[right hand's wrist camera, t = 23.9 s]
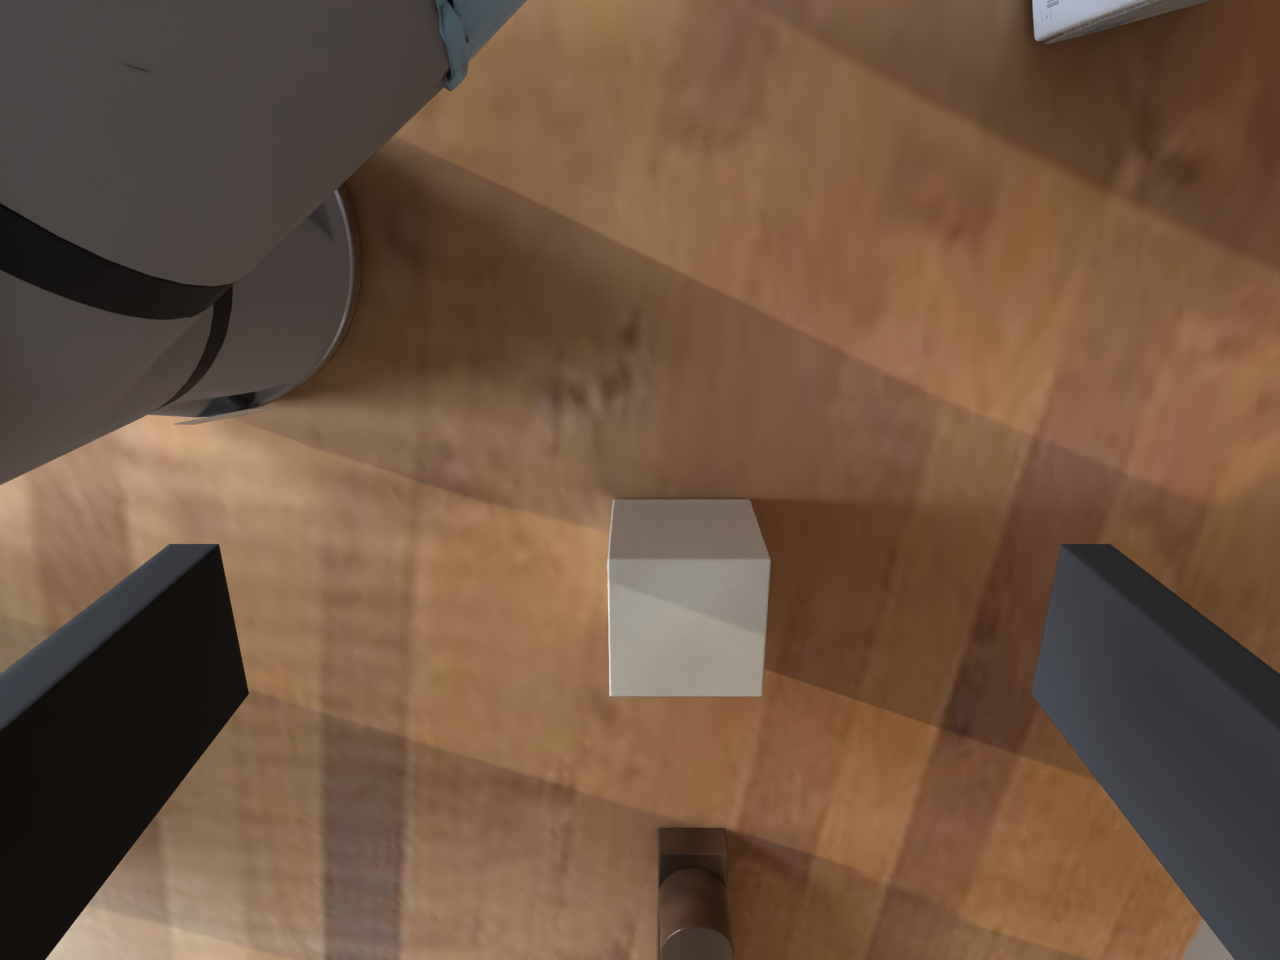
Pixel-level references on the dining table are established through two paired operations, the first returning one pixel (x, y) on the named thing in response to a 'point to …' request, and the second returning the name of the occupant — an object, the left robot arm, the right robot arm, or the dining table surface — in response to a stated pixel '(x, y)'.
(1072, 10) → the hard drive box
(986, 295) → the dining table surface
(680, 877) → the walnut stand
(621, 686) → the cap block
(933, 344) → the dining table surface
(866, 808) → the dining table surface
